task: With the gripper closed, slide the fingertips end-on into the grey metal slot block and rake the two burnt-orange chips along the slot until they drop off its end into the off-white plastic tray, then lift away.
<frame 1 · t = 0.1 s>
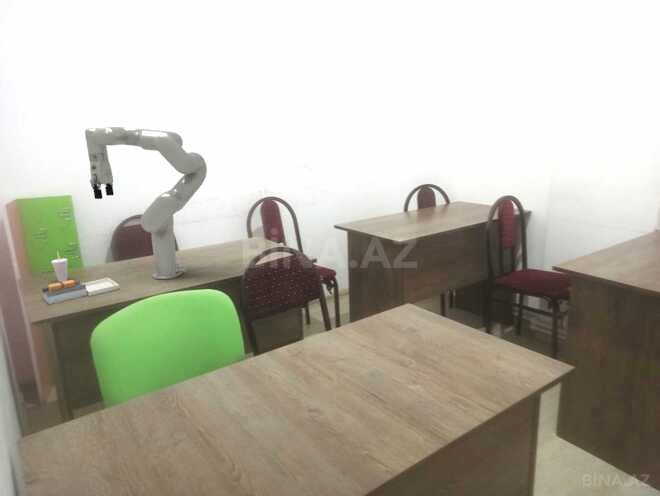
hand: (104, 197, 212), 37 cm above the table, tool pointing down, fingers open, 9 cm apart
chip a: (69, 288, 196), point 3 cm above the table, touching slot block
chip b: (56, 291, 193), point 3 cm above the table, touching slot block
smoothie: (63, 281, 217), on the table
slot block: (84, 292, 200), on the table
tray: (99, 288, 204), on the table
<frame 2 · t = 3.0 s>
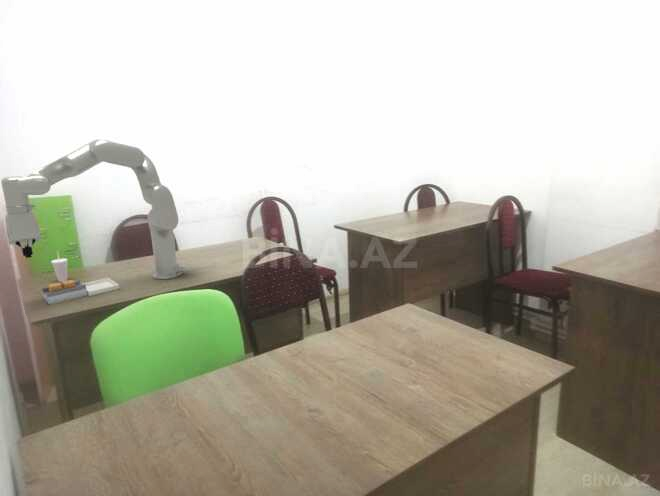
hand: (28, 256, 184), 19 cm above the table, tool pointing down, fingers closed
nothing on the table moved.
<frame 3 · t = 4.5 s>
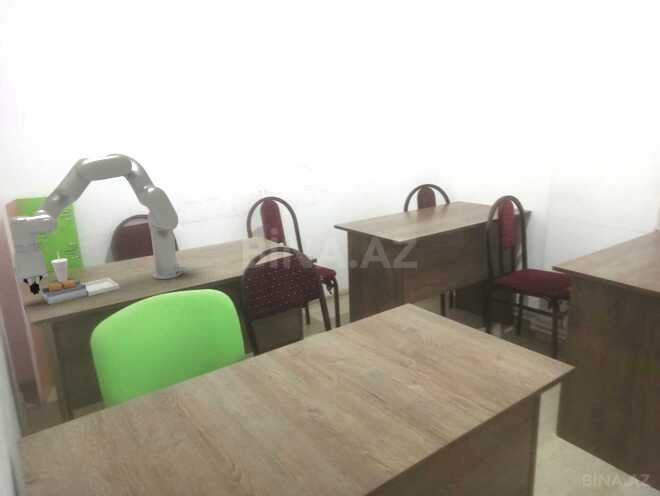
hand: (35, 293, 188), 4 cm above the table, tool pointing down, fingers closed
nothing on the table moved.
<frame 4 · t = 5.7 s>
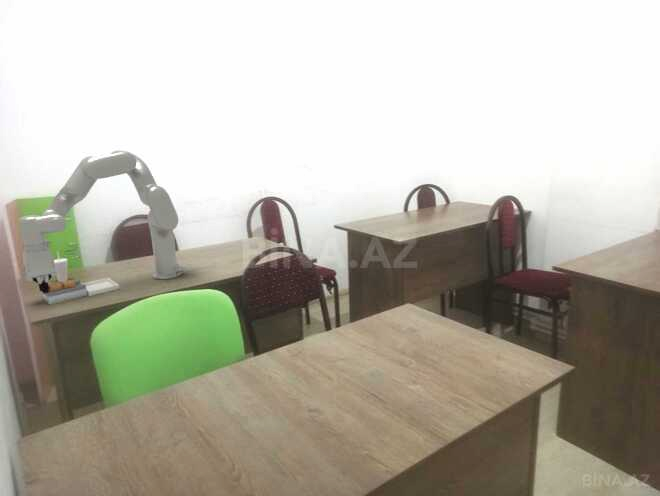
hand: (44, 292, 190), 4 cm above the table, tool pointing down, fingers closed
chip b: (56, 291, 193), point 3 cm above the table, touching gripper
everything else where it was.
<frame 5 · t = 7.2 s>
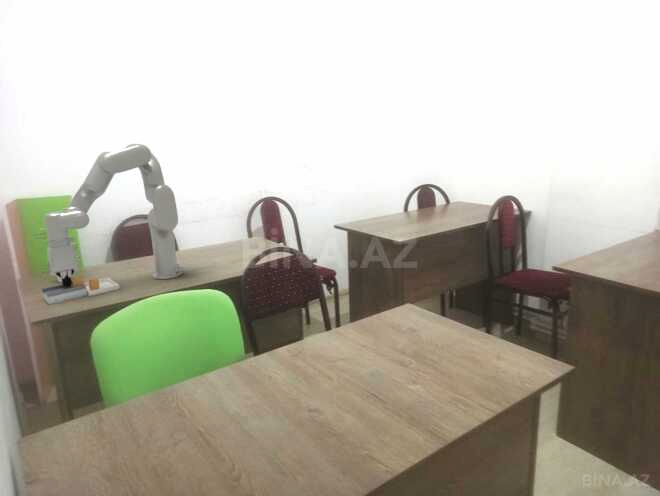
hand: (67, 286, 195), 4 cm above the table, tool pointing down, fingers closed
chip a: (90, 284, 201), point 3 cm above the table, tilted 97°, touching tray
chip b: (78, 286, 198), point 3 cm above the table, touching gripper, slot block
everything else where it was.
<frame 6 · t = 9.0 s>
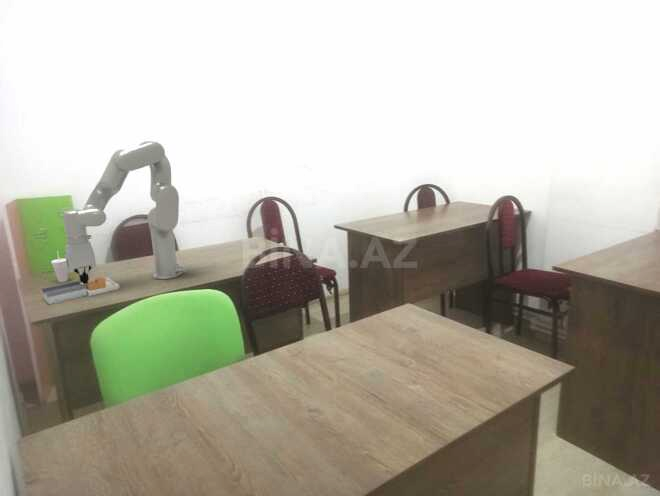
hand: (85, 282, 199), 4 cm above the table, tool pointing down, fingers closed
chip a: (96, 283, 203), point 2 cm above the table, tilted 90°, touching tray
chip b: (92, 289, 202), resting on tray
everything else where it was.
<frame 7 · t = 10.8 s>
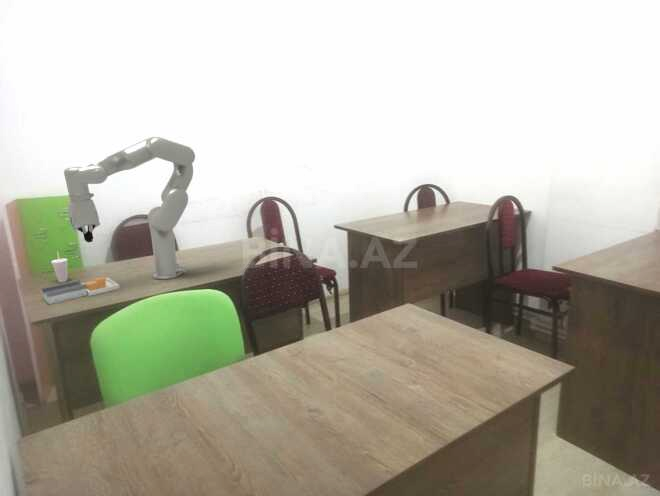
hand: (89, 241, 199), 21 cm above the table, tool pointing down, fingers closed
nothing on the table moved.
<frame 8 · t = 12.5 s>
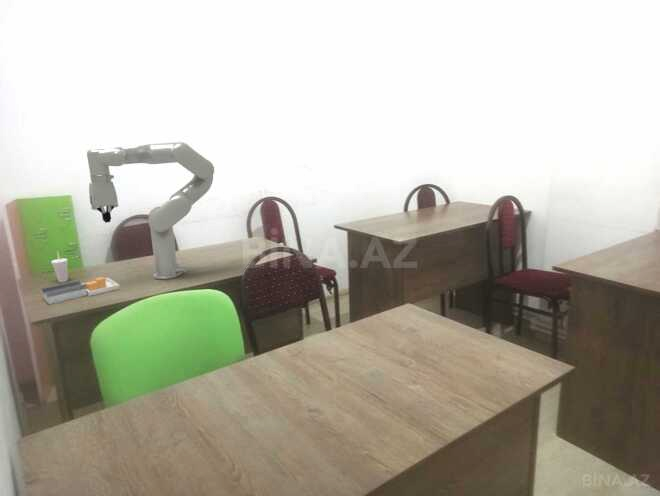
hand: (107, 221, 206), 27 cm above the table, tool pointing down, fingers closed
nothing on the table moved.
at the end: chip a 0.8 cm from the tray (horizontally); chip b 2.8 cm from the tray (horizontally) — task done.
